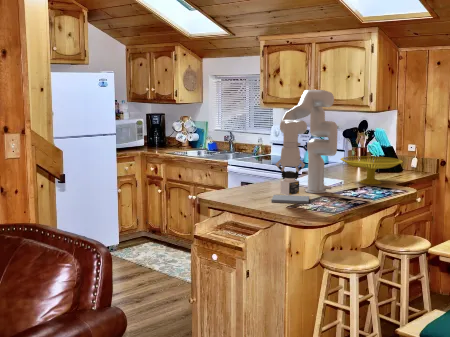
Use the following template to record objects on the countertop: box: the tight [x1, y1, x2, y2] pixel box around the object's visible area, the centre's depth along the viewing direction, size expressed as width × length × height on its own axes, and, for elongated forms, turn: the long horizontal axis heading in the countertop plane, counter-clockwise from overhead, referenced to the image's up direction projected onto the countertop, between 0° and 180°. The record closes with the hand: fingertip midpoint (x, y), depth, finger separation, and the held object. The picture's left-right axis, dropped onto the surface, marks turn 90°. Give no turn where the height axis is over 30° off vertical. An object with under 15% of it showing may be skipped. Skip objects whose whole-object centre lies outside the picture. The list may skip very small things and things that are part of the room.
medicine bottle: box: [280, 170, 300, 196], centre depth 315 cm, size 7×7×12 cm
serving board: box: [270, 194, 310, 205], centre depth 330 cm, size 20×14×2 cm
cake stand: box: [340, 155, 404, 185], centre depth 390 cm, size 40×40×15 cm
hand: (290, 178), depth 315 cm, fingers closed on medicine bottle, 6 cm apart
